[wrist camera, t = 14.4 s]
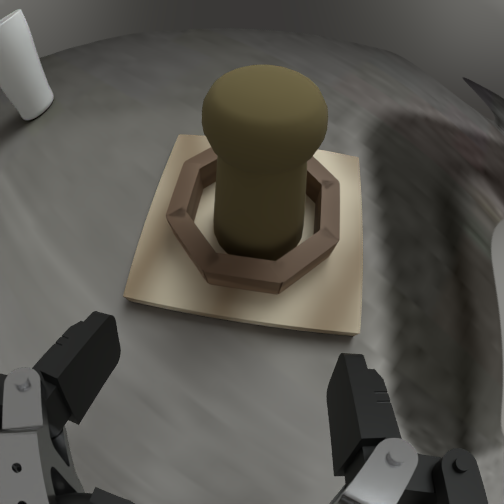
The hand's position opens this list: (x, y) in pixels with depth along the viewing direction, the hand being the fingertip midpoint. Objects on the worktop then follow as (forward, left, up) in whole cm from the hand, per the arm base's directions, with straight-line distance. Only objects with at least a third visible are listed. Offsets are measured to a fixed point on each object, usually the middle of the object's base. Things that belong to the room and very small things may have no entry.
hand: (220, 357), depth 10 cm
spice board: (0, +10, -8) cm, 13 cm away
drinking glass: (-31, +24, -9) cm, 40 cm away
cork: (0, +9, -7) cm, 12 cm away
